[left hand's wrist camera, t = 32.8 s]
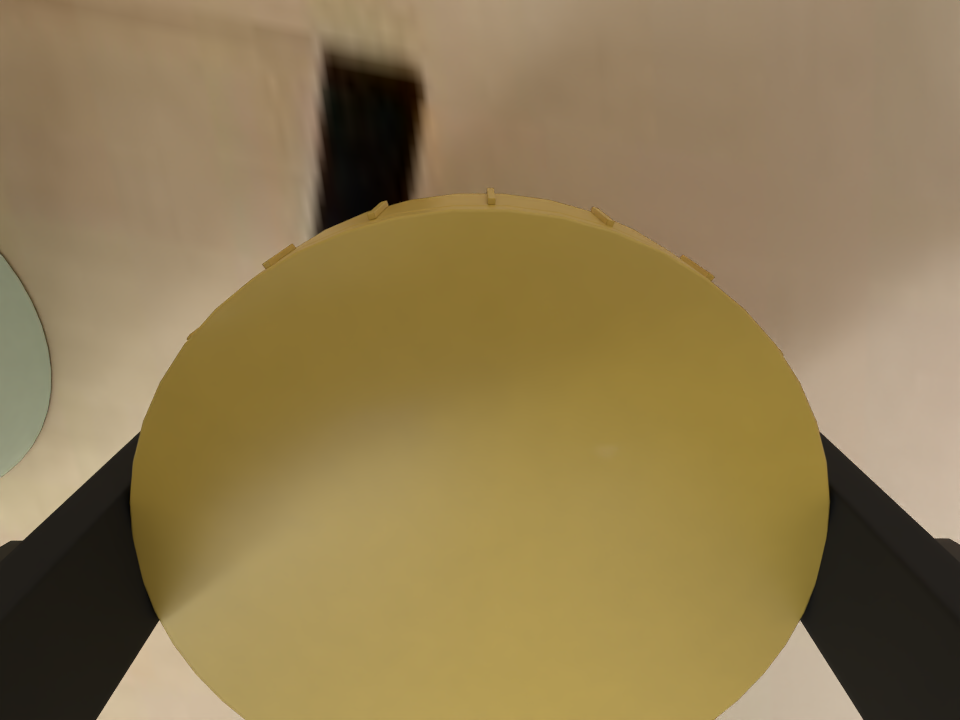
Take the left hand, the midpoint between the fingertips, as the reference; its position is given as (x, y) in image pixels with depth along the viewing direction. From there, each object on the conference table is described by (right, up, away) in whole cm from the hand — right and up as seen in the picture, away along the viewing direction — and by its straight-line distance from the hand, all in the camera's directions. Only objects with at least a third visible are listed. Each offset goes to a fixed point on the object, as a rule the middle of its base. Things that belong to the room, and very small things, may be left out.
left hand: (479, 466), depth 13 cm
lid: (0, -1, -3) cm, 3 cm away
